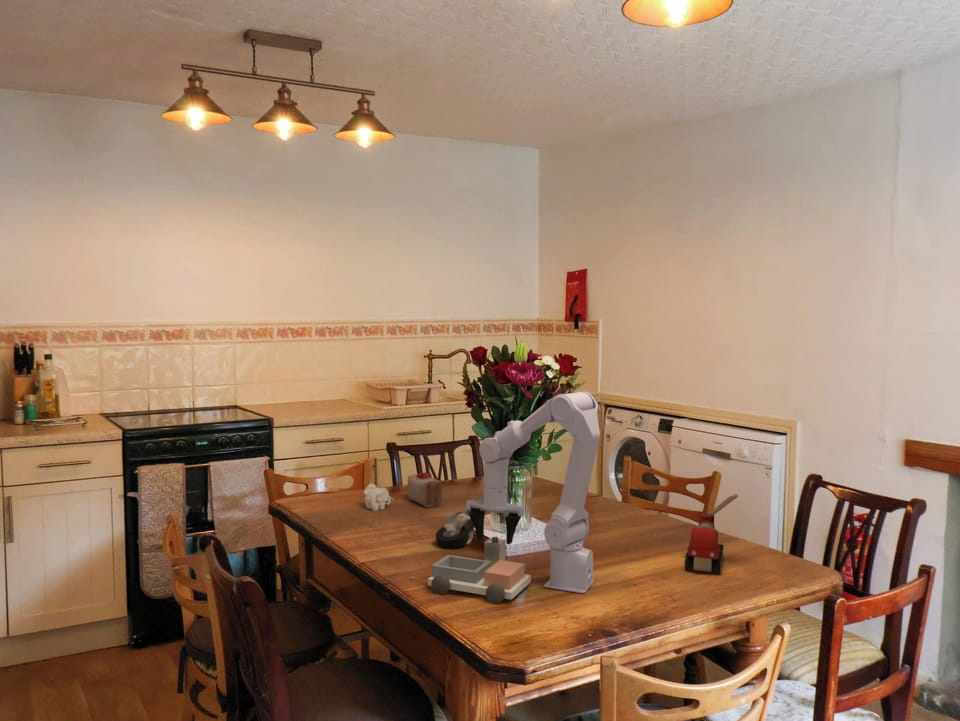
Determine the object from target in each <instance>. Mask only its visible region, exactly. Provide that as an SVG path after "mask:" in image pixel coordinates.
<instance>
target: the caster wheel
mask: <svg viewBox="0 0 960 721" xmlns="http://www.w3.org/2000/svg"><path fill="white" fill-rule="evenodd" d="M470 511H471V510H469V509H467V508H466V509H464V510H460V511H457V512H454V513H451V514H448V515H446V516H445V520H446V523H445V524H444V525H443V527H441V528H439V529H438V530H437V531H436V532H435V540H436V545H437V546H438V547H439V548H441V549H444V550H455V549H458V548H460V547H464V546H465V545H468V544H470V543H471V542H472V540H473V537H474V534H475V533H474V532H475V527H474V524H473V522H472V520H471V518H470V517H469V512H470Z"/></svg>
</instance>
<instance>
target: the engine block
mask: <svg viewBox="0 0 960 721" xmlns="http://www.w3.org/2000/svg"><path fill="white" fill-rule="evenodd" d="M483 544H484V546H483V547H484V548H483V549H484V550H483V560H486V561H491V567H492V566H493V565H494V564H495V563H497V562H498V561H499V560H504V561H507V560H506V556H507V555H506V553H507V552H506V547H507V546H506V545H507V543H506V539H502V538H499V537H498V536H493V537H489V539H487V540H485V541H484V542H483Z"/></svg>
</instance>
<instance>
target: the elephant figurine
mask: <svg viewBox="0 0 960 721" xmlns="http://www.w3.org/2000/svg"><path fill="white" fill-rule="evenodd" d="M364 495H365V496H366V497H364V498H365V505H366V508H367V509H369V510H370V509H371V510H372V511H374V512H376V511H379V510H384V509H385V507H386V505H387V506H388V505H390V504H391V501H392V500H393V501H395V499H394V498H393V497H392V496H390V494H389V491H388V490H387V488H385V487H381V488H380V487H377V485H376V484H374V483H369V484H368V485H367V486H366V487H365V489H364Z"/></svg>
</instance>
